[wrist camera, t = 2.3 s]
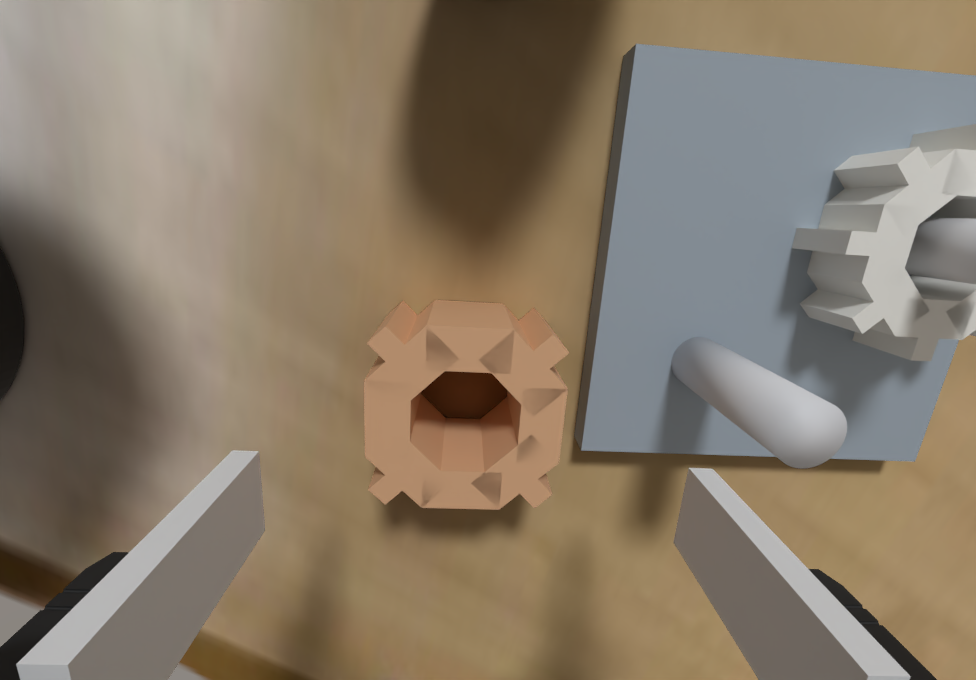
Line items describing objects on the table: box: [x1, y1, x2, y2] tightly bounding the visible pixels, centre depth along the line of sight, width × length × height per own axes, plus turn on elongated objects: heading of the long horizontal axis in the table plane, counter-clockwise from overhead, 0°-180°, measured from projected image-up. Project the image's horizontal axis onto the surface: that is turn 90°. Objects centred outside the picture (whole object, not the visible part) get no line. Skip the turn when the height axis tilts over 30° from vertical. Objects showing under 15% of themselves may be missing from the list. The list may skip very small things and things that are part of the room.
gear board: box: [574, 44, 976, 468], centre depth 18 cm, size 18×18×9 cm
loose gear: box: [364, 300, 569, 510], centre depth 21 cm, size 8×8×5 cm
